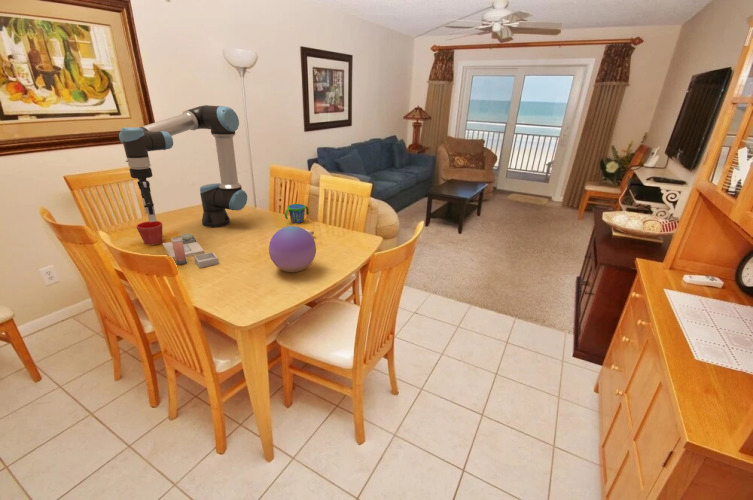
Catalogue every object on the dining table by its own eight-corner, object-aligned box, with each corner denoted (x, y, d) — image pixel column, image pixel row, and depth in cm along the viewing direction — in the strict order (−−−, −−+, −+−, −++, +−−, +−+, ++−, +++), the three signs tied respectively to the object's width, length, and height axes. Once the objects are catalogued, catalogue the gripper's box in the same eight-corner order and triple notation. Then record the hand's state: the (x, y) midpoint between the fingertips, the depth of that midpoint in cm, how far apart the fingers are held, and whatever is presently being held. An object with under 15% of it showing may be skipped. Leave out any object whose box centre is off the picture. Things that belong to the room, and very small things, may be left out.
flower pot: (154, 247, 167) (150, 229, 163) (135, 245, 169) (130, 226, 165) (170, 239, 176) (167, 222, 173) (152, 237, 178) (148, 219, 174)
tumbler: (185, 260, 156) (180, 235, 151) (187, 263, 153) (182, 238, 148) (175, 262, 153) (170, 237, 148) (177, 265, 150) (172, 240, 146)
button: (191, 235, 175) (190, 232, 175) (193, 238, 172) (193, 235, 171) (180, 237, 172) (179, 234, 172) (182, 241, 169) (182, 237, 168)
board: (193, 239, 178) (192, 235, 177) (204, 252, 164) (203, 247, 163) (163, 245, 169) (161, 240, 168) (171, 259, 155) (170, 254, 154)
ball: (274, 283, 140) (270, 238, 132) (267, 263, 156) (263, 222, 148) (321, 276, 147) (320, 233, 139) (310, 257, 164) (309, 218, 156)
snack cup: (289, 226, 202) (288, 210, 198) (282, 221, 209) (280, 205, 205) (312, 222, 211) (312, 206, 206) (305, 217, 218) (304, 202, 214)
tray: (213, 257, 159) (212, 251, 158) (218, 263, 154) (217, 257, 152) (195, 261, 155) (193, 255, 153) (199, 268, 149) (198, 262, 148)
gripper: (126, 163, 146) (138, 210, 155) (131, 173, 128) (143, 226, 136) (147, 162, 150) (157, 208, 159) (154, 172, 132) (165, 223, 141)
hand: (151, 217), depth 148 cm, fingers open, 13 cm apart
